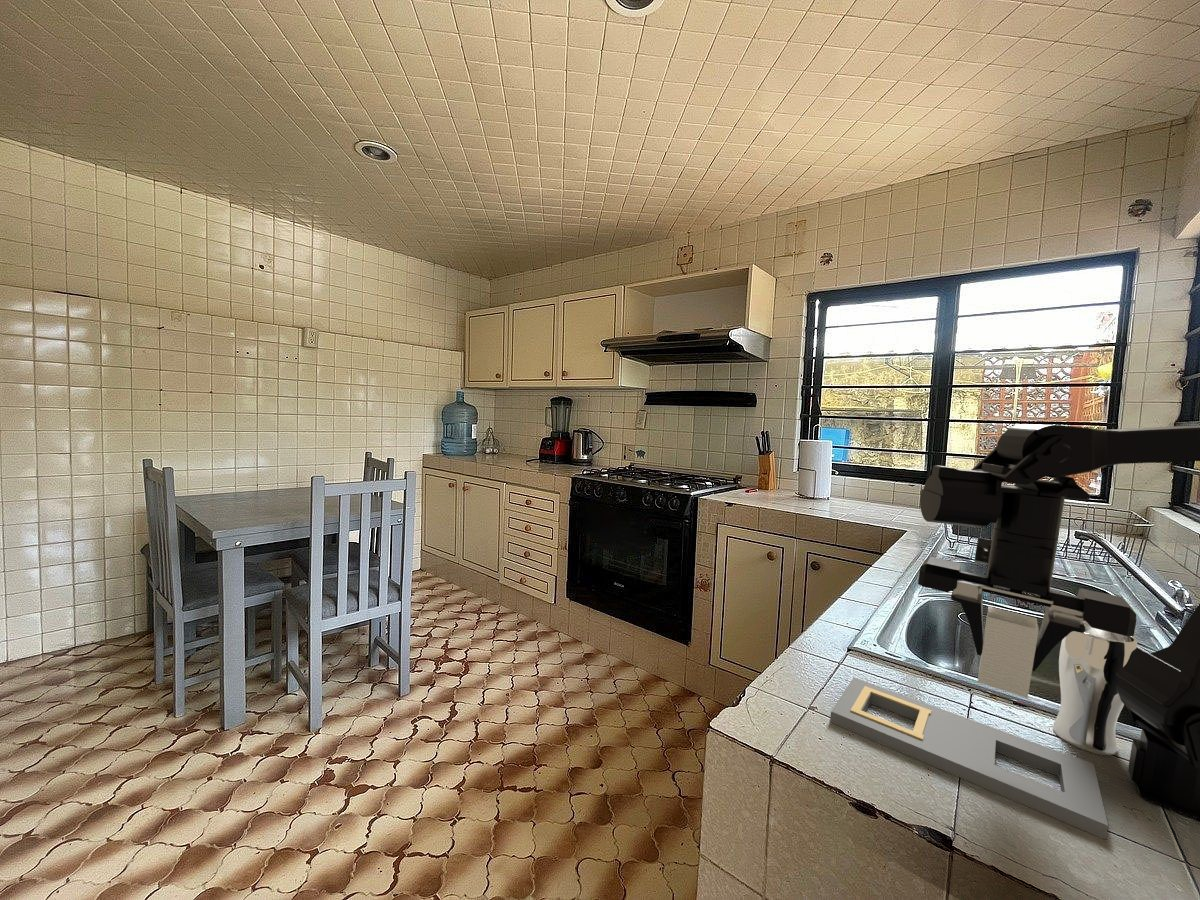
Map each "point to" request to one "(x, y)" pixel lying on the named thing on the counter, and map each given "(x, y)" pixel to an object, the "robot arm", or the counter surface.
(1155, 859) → the counter surface
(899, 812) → the counter surface
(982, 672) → the peg
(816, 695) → the counter surface
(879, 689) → the rail
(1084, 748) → the silver metal cylinder
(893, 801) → the counter surface
